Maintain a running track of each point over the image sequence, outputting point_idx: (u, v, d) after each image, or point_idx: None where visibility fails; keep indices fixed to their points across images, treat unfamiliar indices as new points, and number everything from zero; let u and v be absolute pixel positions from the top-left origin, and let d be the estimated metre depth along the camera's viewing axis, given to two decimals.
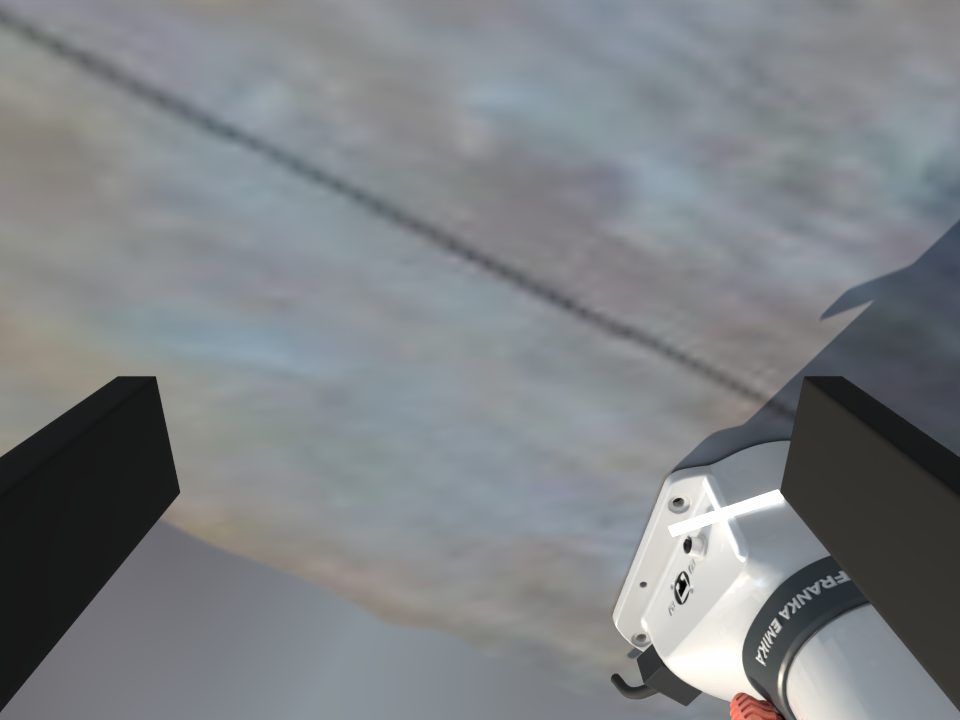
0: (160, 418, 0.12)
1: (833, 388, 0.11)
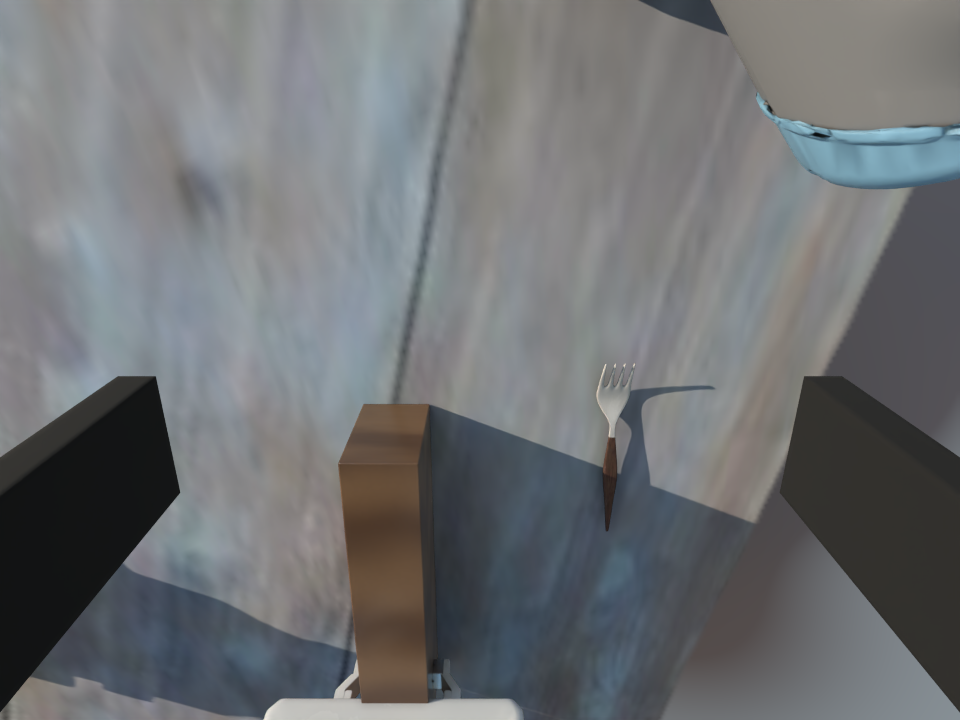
0: (160, 418, 0.12)
1: (833, 388, 0.11)
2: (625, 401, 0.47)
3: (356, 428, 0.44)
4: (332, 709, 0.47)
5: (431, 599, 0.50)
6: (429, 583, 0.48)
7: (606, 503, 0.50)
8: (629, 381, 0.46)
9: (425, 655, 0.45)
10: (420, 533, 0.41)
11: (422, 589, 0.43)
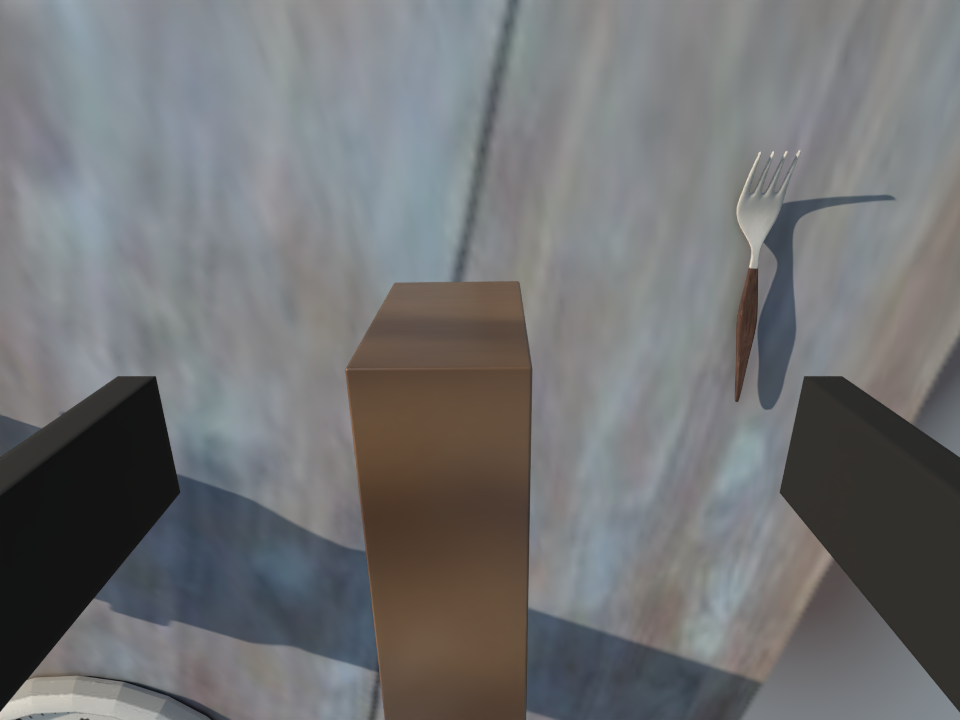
0: (160, 418, 0.12)
1: (833, 388, 0.11)
2: (774, 217, 0.36)
3: (383, 313, 0.21)
4: None
5: None
6: None
7: (739, 362, 0.39)
8: (785, 184, 0.34)
9: None
10: (527, 528, 0.19)
11: (524, 642, 0.21)
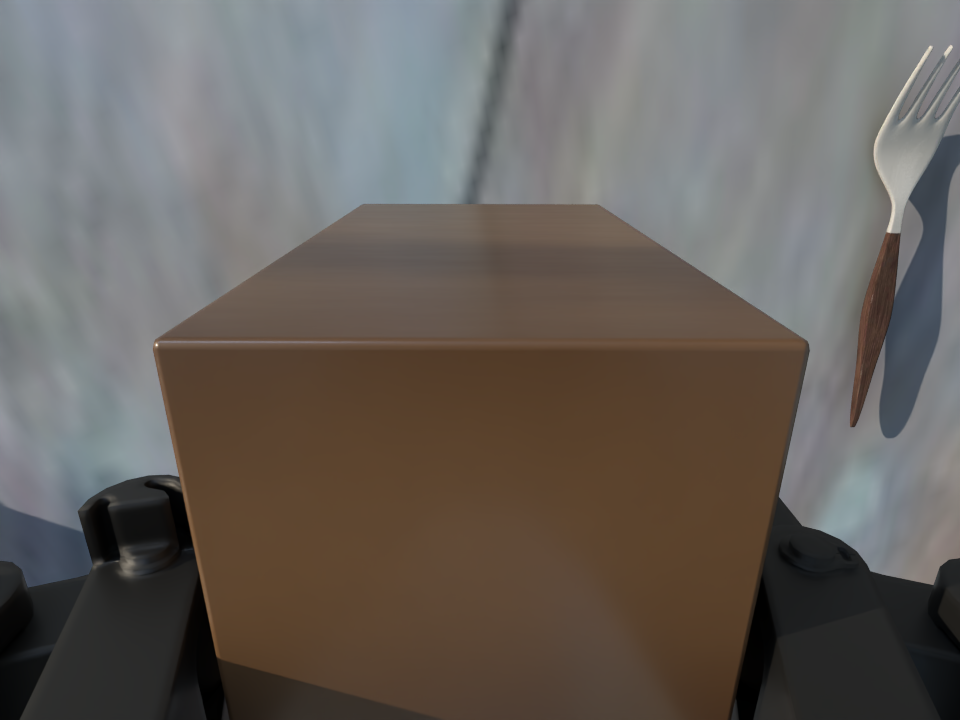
0: None
1: None
2: (929, 157, 0.24)
3: (327, 235, 0.09)
4: None
5: None
6: None
7: (862, 371, 0.27)
8: (954, 103, 0.23)
9: None
10: None
11: None
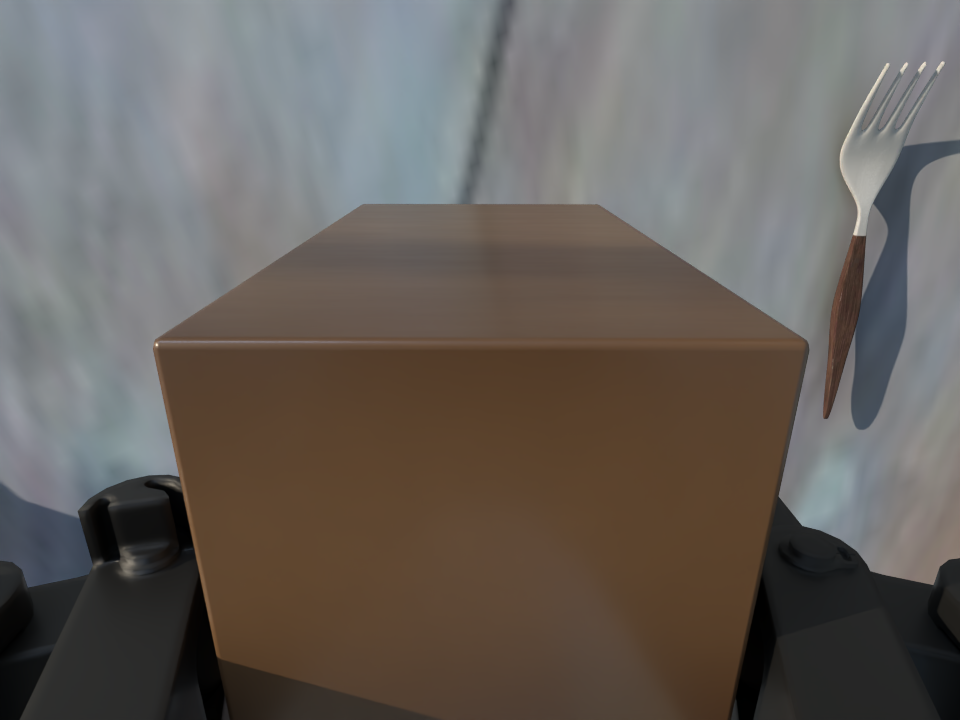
0: None
1: None
2: (891, 165, 0.26)
3: (327, 235, 0.09)
4: None
5: None
6: None
7: (833, 365, 0.29)
8: (912, 115, 0.25)
9: None
10: None
11: None
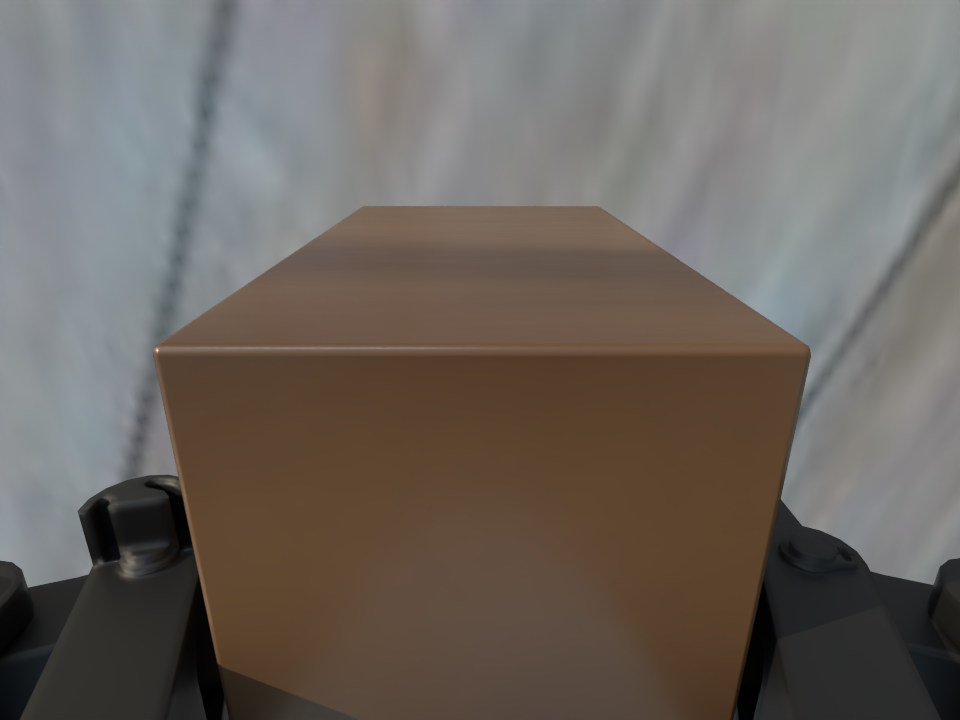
0: None
1: None
2: None
3: (327, 238, 0.09)
4: None
5: None
6: None
7: None
8: None
9: None
10: None
11: None
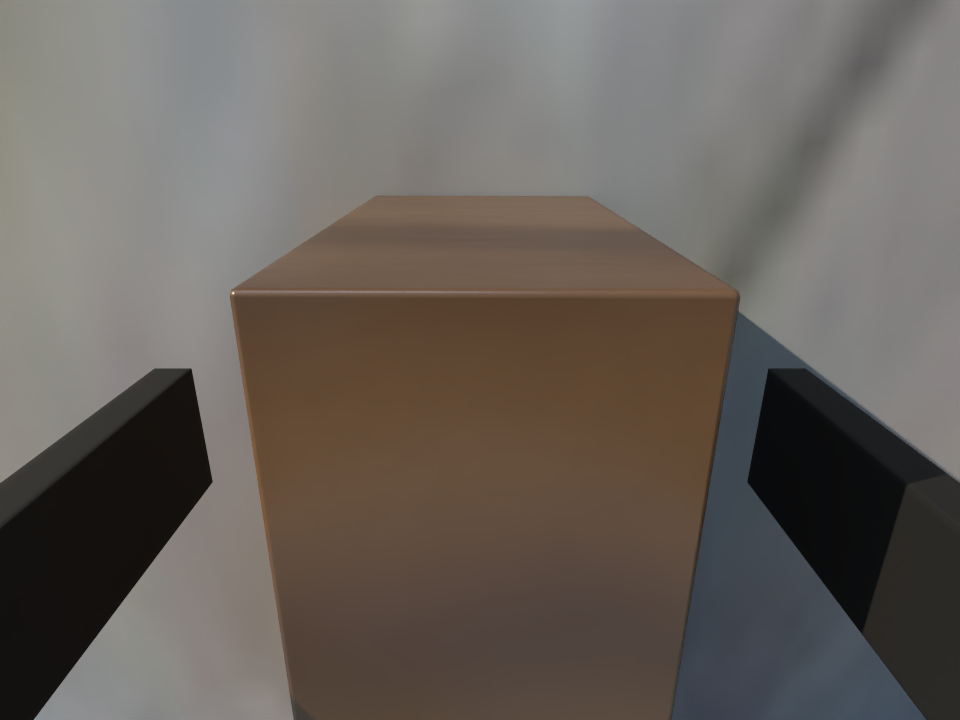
0: (195, 409, 0.12)
1: (795, 380, 0.12)
2: None
3: (349, 220, 0.11)
4: None
5: None
6: None
7: None
8: None
9: None
10: (672, 689, 0.08)
11: None
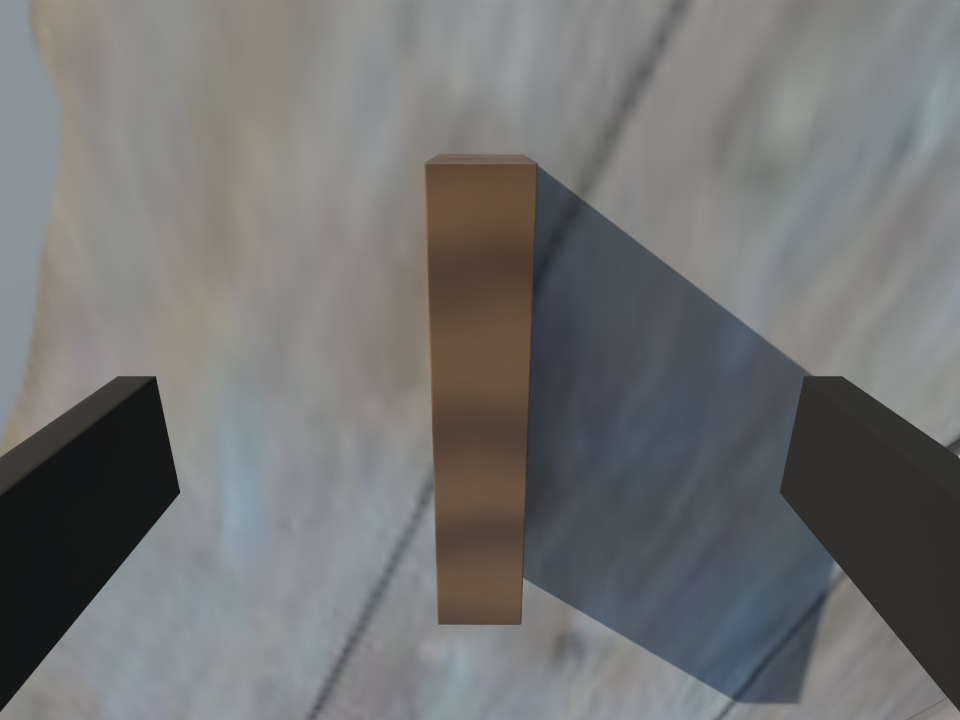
0: (159, 418, 0.12)
1: (833, 388, 0.11)
2: None
3: (437, 157, 0.33)
4: None
5: None
6: None
7: None
8: None
9: (525, 471, 0.34)
10: (532, 279, 0.30)
11: (528, 369, 0.32)
